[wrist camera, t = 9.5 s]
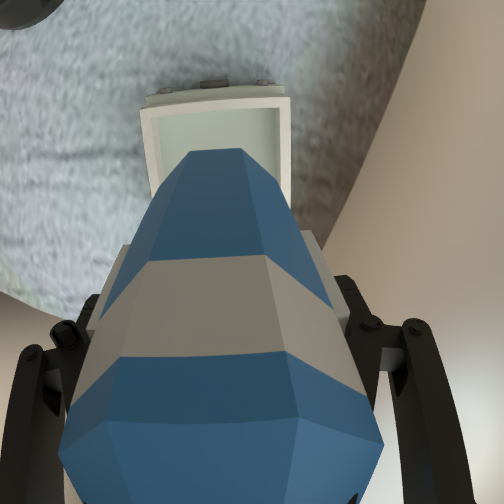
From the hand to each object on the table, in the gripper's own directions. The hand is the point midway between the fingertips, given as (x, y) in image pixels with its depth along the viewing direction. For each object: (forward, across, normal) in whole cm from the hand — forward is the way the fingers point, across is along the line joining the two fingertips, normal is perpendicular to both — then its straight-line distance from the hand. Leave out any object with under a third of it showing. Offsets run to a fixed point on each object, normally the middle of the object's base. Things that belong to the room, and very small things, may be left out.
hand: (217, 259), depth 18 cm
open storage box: (+23, 0, 0) cm, 23 cm away
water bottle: (+8, 0, 0) cm, 8 cm away
